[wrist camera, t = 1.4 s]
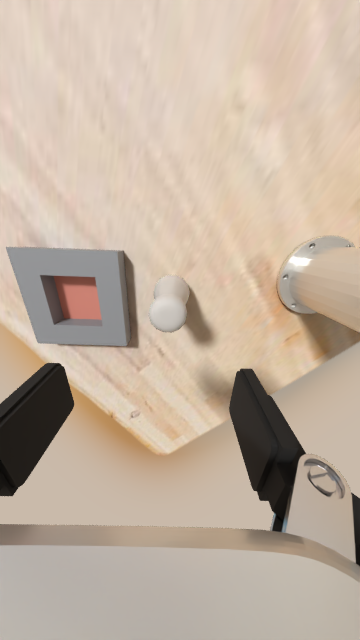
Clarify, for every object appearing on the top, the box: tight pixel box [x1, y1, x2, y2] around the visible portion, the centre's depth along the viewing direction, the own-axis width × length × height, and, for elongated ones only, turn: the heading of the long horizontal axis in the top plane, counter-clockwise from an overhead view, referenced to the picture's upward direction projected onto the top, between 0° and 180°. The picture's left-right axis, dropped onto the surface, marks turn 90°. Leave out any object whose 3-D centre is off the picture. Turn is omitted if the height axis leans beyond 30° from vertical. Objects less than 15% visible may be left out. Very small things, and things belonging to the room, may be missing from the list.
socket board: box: [6, 247, 131, 346], centre depth 30 cm, size 16×16×3 cm
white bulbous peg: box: [149, 275, 190, 332], centre depth 24 cm, size 6×6×13 cm
